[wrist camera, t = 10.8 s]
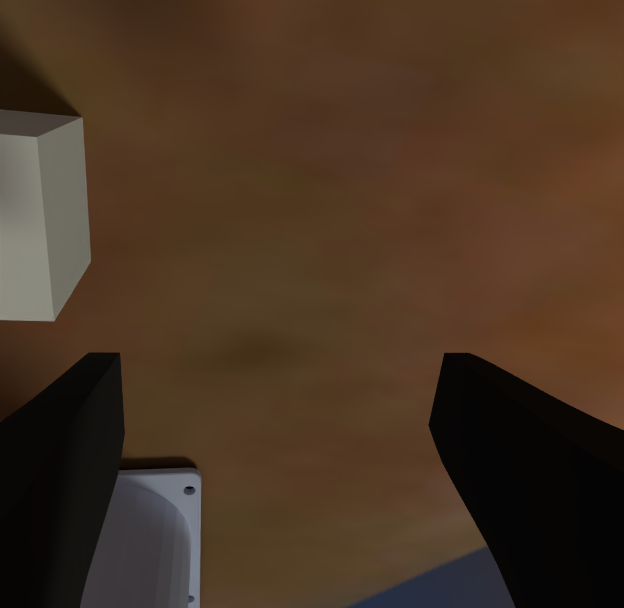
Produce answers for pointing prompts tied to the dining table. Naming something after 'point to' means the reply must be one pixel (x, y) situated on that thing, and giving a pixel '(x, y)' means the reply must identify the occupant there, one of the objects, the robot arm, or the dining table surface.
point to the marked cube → (41, 213)
